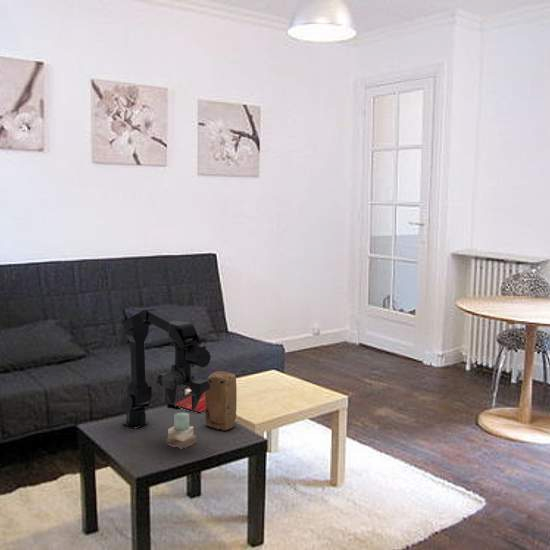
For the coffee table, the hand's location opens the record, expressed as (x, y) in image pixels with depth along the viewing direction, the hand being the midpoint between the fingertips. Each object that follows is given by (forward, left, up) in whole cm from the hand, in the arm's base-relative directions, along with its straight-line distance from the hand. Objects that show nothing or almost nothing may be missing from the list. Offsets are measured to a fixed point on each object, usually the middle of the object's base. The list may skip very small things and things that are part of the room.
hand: (183, 407), depth 213 cm
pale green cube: (0, 0, -7) cm, 7 cm away
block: (0, +20, -13) cm, 24 cm away
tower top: (-1, 0, -10) cm, 10 cm away
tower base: (0, 0, -13) cm, 13 cm away
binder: (-23, +36, -14) cm, 45 cm away
